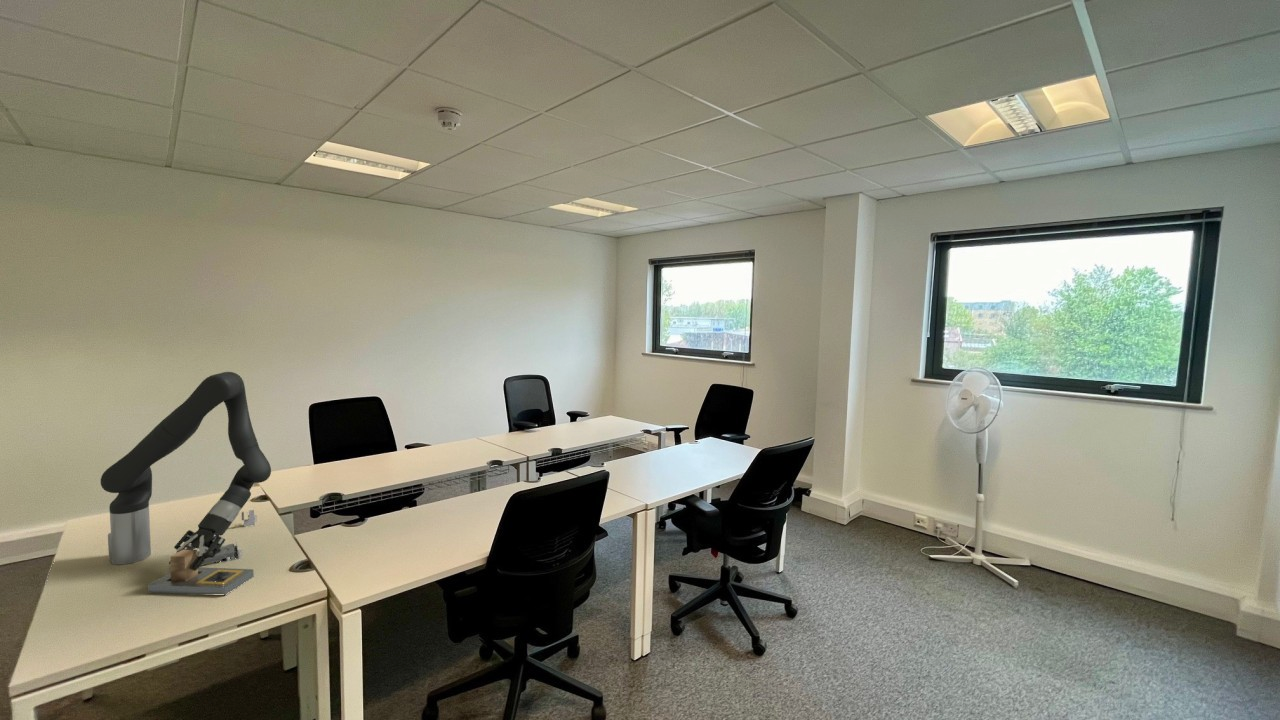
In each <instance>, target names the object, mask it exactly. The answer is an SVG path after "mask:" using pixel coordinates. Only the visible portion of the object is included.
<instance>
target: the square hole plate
mask: <svg viewBox="0 0 1280 720" xmlns="http://www.w3.org/2000/svg"><path fill="white" fill-rule="evenodd" d="M254 574H255V573H254V569H250V568H228V567H227V568H226V567H205V566H204V567H203V566H200V567H199V568H198V575H196V576H195V577H193V578H191V579H189V580H188V581H186V582H182V581H171V572H169V573H167V574H166V575H163V576H162V577H160V578H158V579H156V580H154V581H153V582H150V583H149V584H147V589H148V591H147V592H148V594H167V595H169V594H170V595H172V594H173V595H190V594H224V595H226V594H227V593H228V592H230V591H232V590H233V589H235V588H236V589H238V588H239V587H241V586H242V585H244V584H245V583H247V582H248V581H249V579H250V580H251V579H252V577H253V578H254ZM219 579H221V580H220V581H219ZM223 579H225V580H223ZM217 580H218V581H217ZM215 581H216V582H215ZM246 581H247V582H246ZM244 582H245V583H244ZM243 583H244V584H243ZM241 584H242V585H241ZM240 585H241V586H240ZM238 586H239V587H238ZM237 587H238V588H237ZM236 589H235V590H236ZM233 591H234V590H233ZM233 591H232V592H233ZM230 593H231V592H230ZM227 595H228V594H227ZM227 595H226V596H227Z"/></svg>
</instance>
